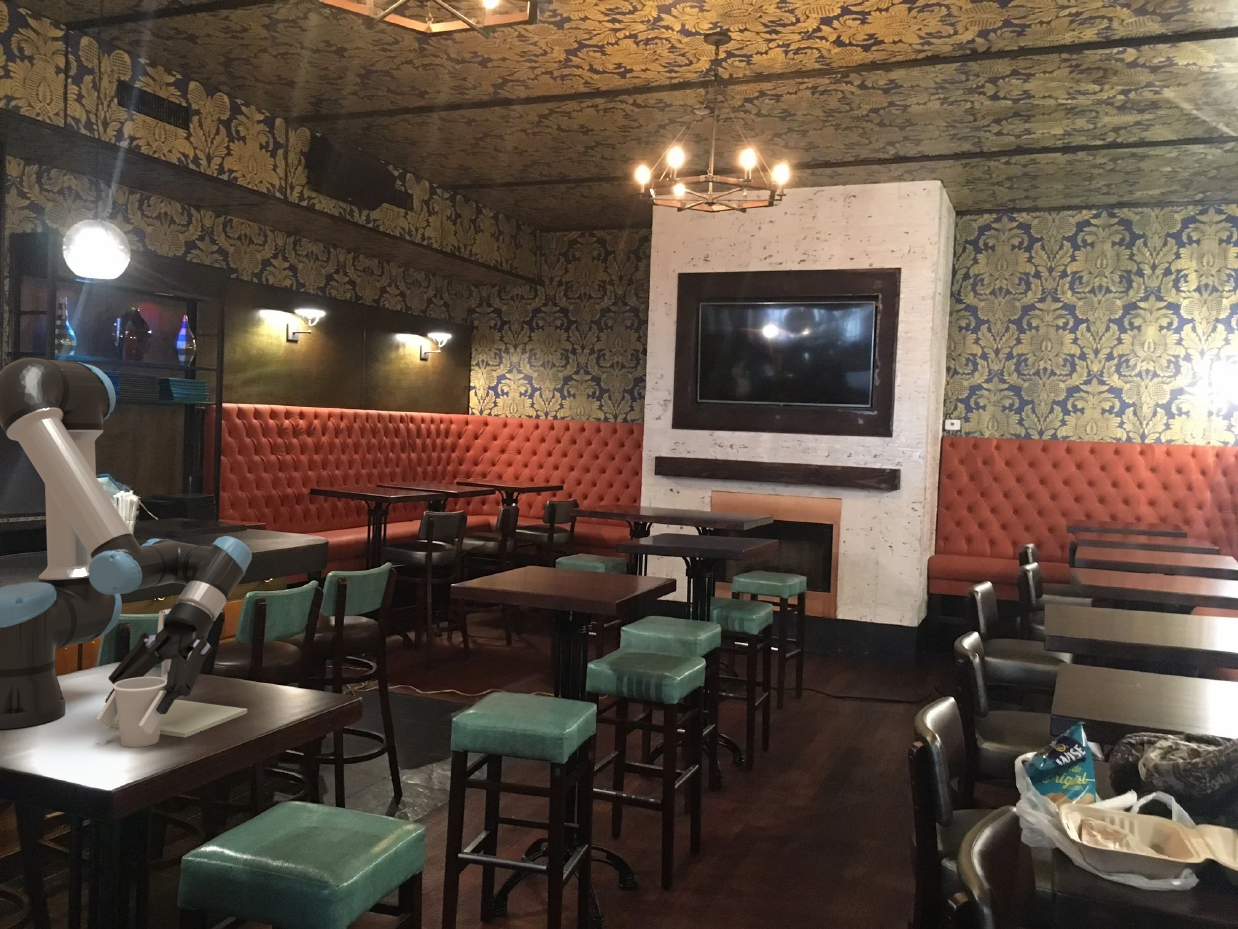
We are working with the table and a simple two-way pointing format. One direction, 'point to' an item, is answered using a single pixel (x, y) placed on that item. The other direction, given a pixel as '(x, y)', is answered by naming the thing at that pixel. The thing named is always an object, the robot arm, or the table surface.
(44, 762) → the table surface
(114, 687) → the dixie cup
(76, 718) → the table surface
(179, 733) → the sage mat
